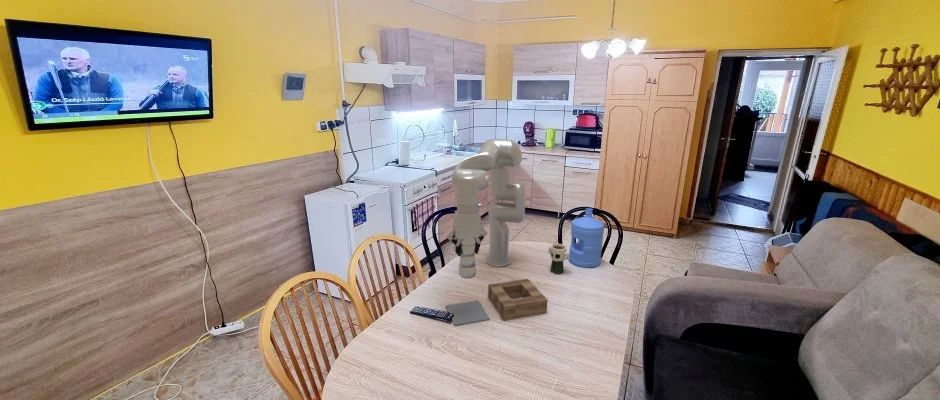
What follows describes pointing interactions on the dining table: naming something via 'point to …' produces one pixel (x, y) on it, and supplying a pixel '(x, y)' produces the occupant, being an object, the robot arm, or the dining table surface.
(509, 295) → the bore block
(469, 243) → the plastic bottle
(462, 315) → the pad
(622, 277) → the dining table surface
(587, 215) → the water jug
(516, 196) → the robot arm
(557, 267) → the character mug
